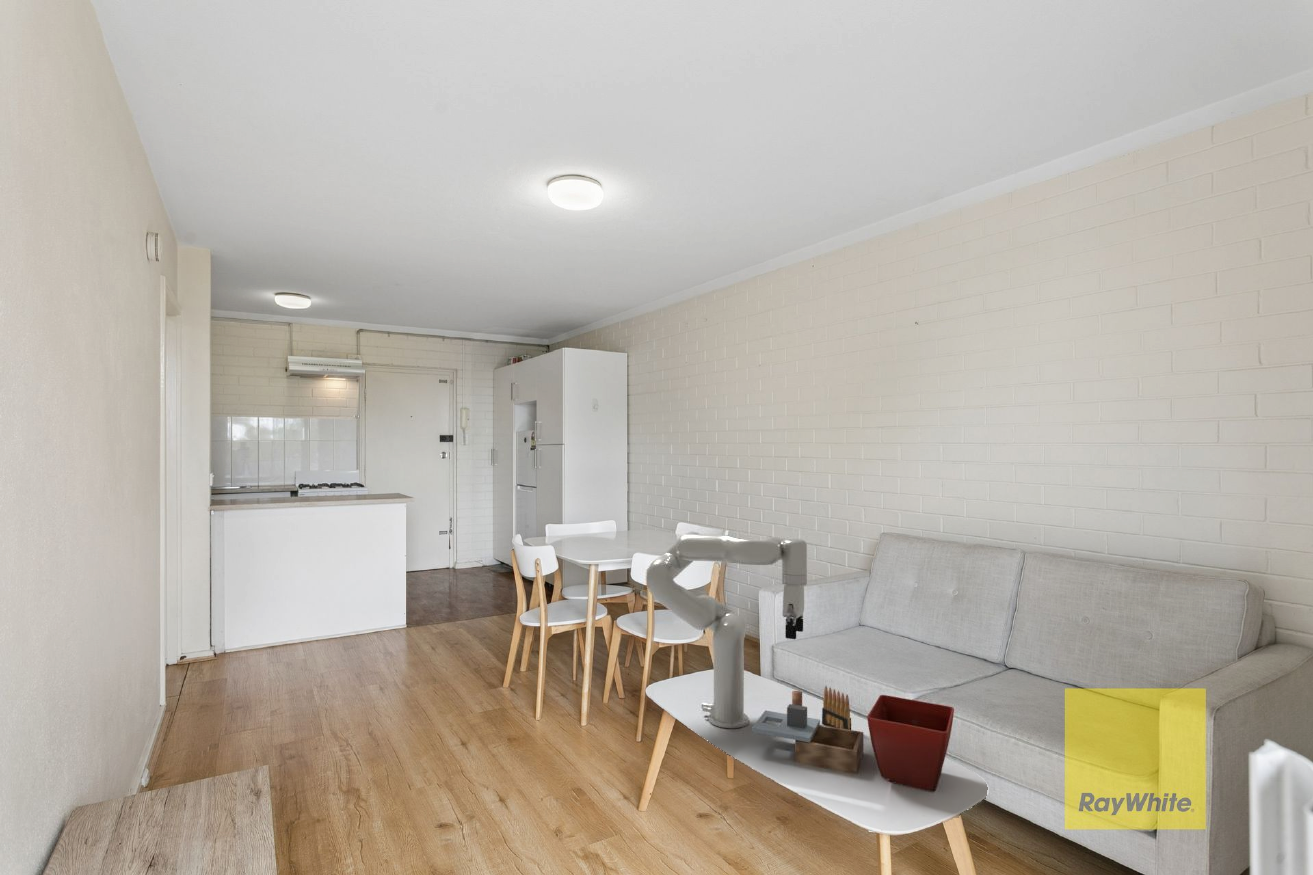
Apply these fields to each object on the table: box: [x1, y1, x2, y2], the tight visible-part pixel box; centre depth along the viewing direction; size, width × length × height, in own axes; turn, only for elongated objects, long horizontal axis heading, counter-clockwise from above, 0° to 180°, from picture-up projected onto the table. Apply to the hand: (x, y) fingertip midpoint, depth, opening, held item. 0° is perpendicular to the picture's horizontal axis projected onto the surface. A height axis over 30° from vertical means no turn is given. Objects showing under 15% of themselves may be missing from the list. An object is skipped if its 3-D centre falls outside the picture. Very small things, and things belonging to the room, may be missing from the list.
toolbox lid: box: [751, 703, 821, 742], centre depth 187 cm, size 16×14×6 cm
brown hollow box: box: [794, 724, 865, 776], centre depth 182 cm, size 16×14×7 cm
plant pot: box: [866, 694, 955, 793], centre depth 173 cm, size 19×19×17 cm
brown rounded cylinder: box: [791, 690, 803, 706], centre depth 200 cm, size 3×3×12 cm
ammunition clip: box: [821, 685, 852, 730], centre depth 204 cm, size 11×2×12 cm, turn 30°
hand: (794, 634), depth 206 cm, fingers open, 9 cm apart
